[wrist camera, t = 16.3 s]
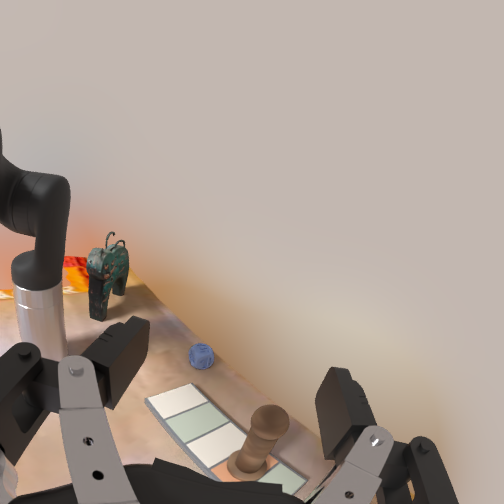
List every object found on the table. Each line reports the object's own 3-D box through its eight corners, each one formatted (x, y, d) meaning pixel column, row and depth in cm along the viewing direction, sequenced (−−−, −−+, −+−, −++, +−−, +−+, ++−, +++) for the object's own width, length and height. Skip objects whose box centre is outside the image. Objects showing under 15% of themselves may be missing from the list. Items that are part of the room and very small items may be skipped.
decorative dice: (194, 370, 51) (197, 355, 50) (187, 358, 54) (190, 343, 53) (212, 368, 53) (215, 353, 52) (204, 356, 56) (207, 342, 55)
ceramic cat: (103, 327, 54) (106, 242, 49) (79, 318, 53) (80, 235, 48) (130, 292, 73) (138, 224, 68) (111, 287, 72) (117, 219, 67)
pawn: (218, 463, 29) (240, 406, 26) (245, 446, 34) (272, 387, 30) (246, 488, 26) (279, 437, 23) (272, 468, 30) (309, 413, 27)
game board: (144, 402, 38) (144, 397, 38) (191, 387, 46) (192, 381, 45) (261, 521, 21) (264, 519, 21) (305, 483, 29) (308, 479, 29)
